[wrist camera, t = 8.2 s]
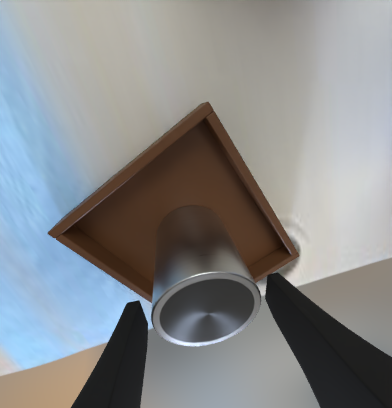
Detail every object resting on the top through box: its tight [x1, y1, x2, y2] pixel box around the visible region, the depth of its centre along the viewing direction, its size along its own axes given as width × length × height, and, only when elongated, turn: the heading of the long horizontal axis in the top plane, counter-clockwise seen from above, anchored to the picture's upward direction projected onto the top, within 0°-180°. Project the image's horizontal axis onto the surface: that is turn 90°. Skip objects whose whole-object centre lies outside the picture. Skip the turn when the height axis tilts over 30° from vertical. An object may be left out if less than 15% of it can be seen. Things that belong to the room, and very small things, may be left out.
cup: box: [151, 205, 261, 346], centre depth 13 cm, size 6×6×7 cm
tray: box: [48, 102, 299, 303], centre depth 15 cm, size 15×13×2 cm
